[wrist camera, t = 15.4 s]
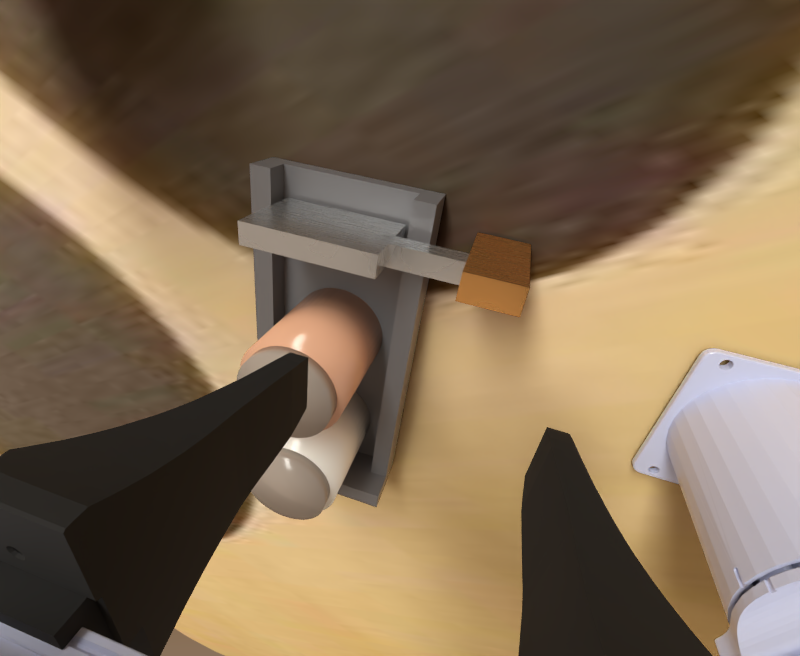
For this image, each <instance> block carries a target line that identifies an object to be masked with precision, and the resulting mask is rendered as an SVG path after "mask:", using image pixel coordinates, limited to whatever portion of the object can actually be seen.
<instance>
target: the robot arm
mask: <svg viewBox="0 0 800 656" xmlns="http://www.w3.org/2000/svg"><path fill="white" fill-rule="evenodd" d="M724 360H730V361H729V362H728V363H727V364H725V365H719V364H720V363H721V362H722V361H724ZM307 388H308V357H305V356H302V355H298V354H295V353H291V352H290V353H288V354H286V355H284V356H282V357H280V358H278V359H276V360H274V361H273V362H271V363H269V364H267V365H265V366H263V367H262V368H260V369H258V370H256V371H254V372H252V373H250V374H248V375H247V376H245V377H243V378H241V379H239V380H237V381H235V382H233V383H231V384H229V385H227V386H225V387H223V388H220V389H218V390H216V391H214V392H212V393H210V394H208V395H205V396H203V397H201V398H199V399H197V400H194V401H192V402H189V403H187V404H184V405H182V406H179V407H177V408H174V409H171V410H169V411H166V412H163V413H161V414H158V415H155V416H152V417H148V418H145V419H142V420H139V421H135V422H132V423H129V424H126V425H122V426H119V427H116V428H112V429H108V430H104V431H100V432H96V433H92V434H88V435H84V436H79V437H75V438H70V439H66V440H61V441H56V442H50V443H45V444H39V445H34V446H28V447H23V448H17V449H10V450H8V451H7V452H5V453H4V454H2V455H1V456H0V656H160V655H161V653H162V651H163V649H164V647H165V645H166V643H167V641H168V639H169V637H170V635H171V633H172V631H173V629H174V627H175V625H176V623H177V621H178V619H179V617H180V615H181V613H182V611H183V609H184V607H185V605H186V603H187V601H188V599H189V598H190V596H191V594H192V592H193V590H194V588H195V586H196V584H197V582H198V581H199V579H200V577H201V575H202V573H203V571H204V569H205V568H206V566H207V564H208V562H209V560H210V559H211V557H212V555H213V553H214V551H215V550H216V548H217V546H218V544H219V543H220V541H221V539H222V537H223V536H224V534H225V532H226V530H227V529H228V527H229V525H230V524H231V522H232V520H233V519H234V517H235V515H236V513H237V512H238V510H239V508H240V507H241V505H242V504H243V502H244V501H245V499H246V498H247V496H248V495H249V493H250V492H251V491H252V489H253V488H254V487H255V485H256V484H257V482H258V481H259V480H260V478H261V477H262V476H263V474H264V473H265V471H266V470H267V469H268V467H269V466H270V465H271V463H272V462H273V461H274V459H275V458H276V456H277V455H278V454H279V452H280V451H281V450H282V448H283V447H284V445H285V444H286V443H287V441H288V440H289V438H290V437H291V436H292V434H293V432H294V430H295V429H296V427H297V425H298V423H299V421H300V419H301V418H302V416H303V414H304V412H305V410H306V408H307ZM632 464H633V468H634V469H635V470H636V471H637V472H639V473H643V474H646V475H649V476H653V477H656V478H659V479H663V480H666V481H669V482H673V483H676V484H679V485H680V487H681V490H682V493H683V496H684V499H685V501H686V504H687V507H688V510H689V513H690V515H691V518H692V521H693V524H694V527H695V529H696V532H697V535H698V538H699V541H700V544H701V546H702V549H703V552H704V555H705V558H706V560H707V563H708V566H709V569H710V572H711V574H712V577H713V580H714V583H715V586H716V588H717V591H718V594H719V597H720V600H721V602H722V605H723V608H724V611H725V614H726V616H727V619H728V622H729V624H730V625H729V629H728V630H727V632H726V633H724V634H723V635H722V636H720V637H718V638H716V639H715V644H716V647H717V650H718V653H719V656H800V369H797V368H793V367H789V366H785V365H781V364H777V363H773V362H769V361H765V360H761V359H757V358H753V357H749V356H745V355H741V354H737V353H733V352H729V351H725V350H721V349H716V348H711V349H706V350H705V351H703V352H702V353H701V354H700V355H699V356H698V358H697V359H696V361H695V363H694V364H693V366H692V367H691V369H690V370H689V372H688V374H687V375H686V377H685V378H684V380H683V381H682V383H681V385H680V386H679V388H678V389H677V391H676V392H675V394H674V396H673V397H672V399H671V400H670V402H669V403H668V405H667V406H666V408H665V410H664V411H663V413H662V414H661V416H660V417H659V419H658V421H657V422H656V424H655V425H654V427H653V428H652V430H651V432H650V433H649V435H648V436H647V438H646V439H645V441H644V443H643V444H642V446H641V447H640V449H639V450H638V452H637V454H636V455H635V457H634V458H633V460H632ZM652 466H655V468H650V467H652ZM521 516H522V578H523V601H522V620H521V632H520V645H519V656H712V655H711V653H710V652H709V651H708V650H707V649H706V648H705V647H704V645H703V644H702V643H701V642H700V641H699V639H698V638H697V637H696V636H695V635H694V633H693V632H692V631H691V630H690V629H689V627H688V626H687V625H686V624H685V622H684V621H683V620H682V619H681V617H680V616H679V615H678V614H677V612H676V611H675V610H674V608H673V607H672V606H671V605H670V603H669V602H668V601H667V600H666V598H665V597H664V596H663V594H662V593H661V592H660V590H659V589H658V588H657V586H656V585H655V584H654V582H653V581H652V579H651V578H650V577H649V575H648V574H647V572H646V571H645V569H644V568H643V566H642V565H641V564H640V562H639V561H638V559H637V558H636V556H635V555H634V553H633V552H632V550H631V549H630V547H629V545H628V544H627V542H626V541H625V539H624V537H623V536H622V534H621V532H620V531H619V529H618V527H617V526H616V524H615V522H614V521H613V519H612V517H611V515H610V514H609V512H608V510H607V508H606V506H605V504H604V503H603V501H602V499H601V497H600V495H599V493H598V491H597V489H596V487H595V486H594V484H593V482H592V480H591V478H590V476H589V474H588V471H587V469H586V467H585V465H584V463H583V461H582V459H581V457H580V455H579V452H578V450H577V448H576V446H575V444H574V442H573V439H572V437H571V436H570V434H568V433H565V432H561V431H558V430H555V429H551V428H548V427H547V429H546V431H545V433H544V435H543V437H542V440H541V442H540V444H539V446H538V448H537V451H536V453H535V455H534V457H533V459H532V462H531V464H530V466H529V468H528V470H527V473H526V475H525V481H524V490H523V499H522V510H521Z"/></svg>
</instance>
